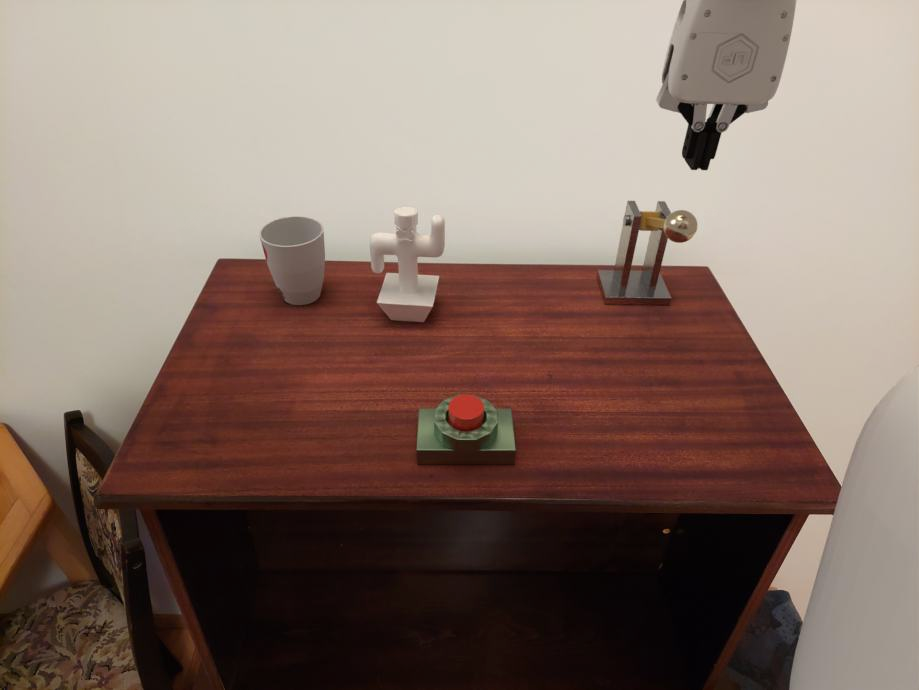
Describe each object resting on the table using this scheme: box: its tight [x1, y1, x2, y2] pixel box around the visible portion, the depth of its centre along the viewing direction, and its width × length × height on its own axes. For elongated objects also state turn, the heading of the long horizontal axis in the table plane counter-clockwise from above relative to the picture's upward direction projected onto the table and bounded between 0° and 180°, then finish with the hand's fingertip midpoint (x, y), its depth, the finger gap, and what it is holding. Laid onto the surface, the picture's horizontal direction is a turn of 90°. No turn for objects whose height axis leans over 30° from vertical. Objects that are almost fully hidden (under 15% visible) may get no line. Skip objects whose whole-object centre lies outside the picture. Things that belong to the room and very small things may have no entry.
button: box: [448, 394, 484, 431], centre depth 65 cm, size 4×4×2 cm
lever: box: [639, 209, 698, 244], centre depth 78 cm, size 16×4×4 cm, turn 0°
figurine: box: [369, 206, 446, 323], centre depth 82 cm, size 7×9×15 cm
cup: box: [258, 215, 326, 306], centre depth 86 cm, size 8×8×10 cm
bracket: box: [596, 200, 672, 306], centre depth 88 cm, size 7×9×13 cm
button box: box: [415, 394, 517, 465], centre depth 67 cm, size 10×6×4 cm, turn 91°
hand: (695, 164), depth 68 cm, fingers closed
